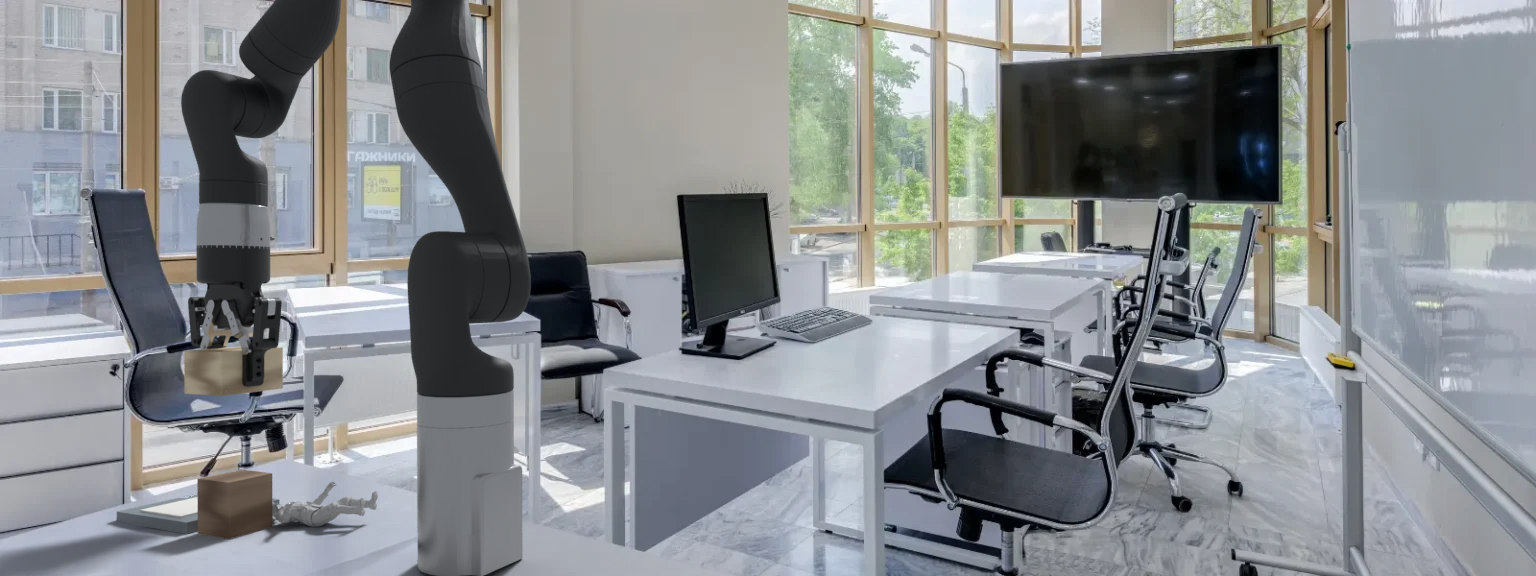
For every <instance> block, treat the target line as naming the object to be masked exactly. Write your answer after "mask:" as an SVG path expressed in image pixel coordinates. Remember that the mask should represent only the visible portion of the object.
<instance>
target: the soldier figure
mask: <svg viewBox="0 0 1536 576" xmlns="http://www.w3.org/2000/svg"><path fill="white" fill-rule="evenodd" d="M335 486H337V484H336V482H335V481H331V482H329V483H328V484H327V485H326V487H325V488H324V490H323V491H322V492H321V494H320V495H319V496H318V497H317V498H315V499H314V500H313V501H306V502H301V501H291V502H289V503H288V502H287V503H286V504H284V505H282V504H280V503H279V505H280V506H278V505H276V504H275V503H274V502H272V512H273V522H274V521H275V522H276V521H277V522H279V523H281V524H287V523H299V522H301V523H303V524H305V525H306V526H309V527H314V528H316V527H322V526H325V525H326V524H328V523H330V522H331V521H334V520H335V519H336V518H337V517H338V516H340V515H343V514H344V515H358V516H360V517H361V516H362V517H364V516H365V514H366V511H365V509H370V510H374V511H376V509H377V500H378V498H379V494H378V492H377V491H373V492H372V493H371V498H370V499H368V500H367V499H366V500H365V498H363V497H361V498H354V497H352V496H349V495H348V496H345V497H341V498H340V499H338V500H337V501H332V502H330V503H328V504H327V505H325V506H323V505H321V504H323V502H324V500H326V499H327V497H328V496H329V493H330V491H331V490H333V488H334V487H335Z"/></svg>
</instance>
